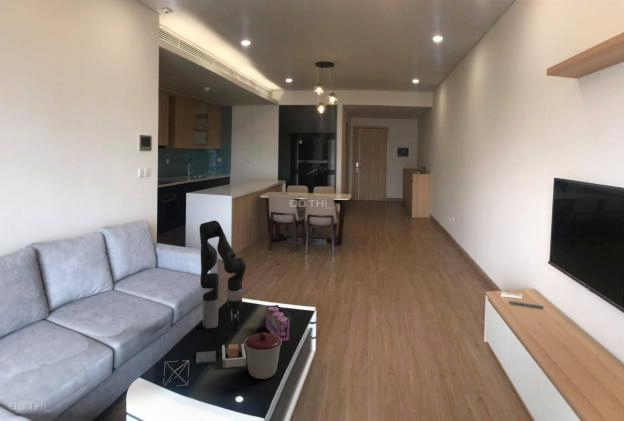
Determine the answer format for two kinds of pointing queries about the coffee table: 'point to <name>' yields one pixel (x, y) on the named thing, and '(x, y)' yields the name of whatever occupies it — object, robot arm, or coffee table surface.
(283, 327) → the gum box
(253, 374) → the canister
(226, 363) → the grey arch handle
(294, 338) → the coffee table surface
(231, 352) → the terracotta block
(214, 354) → the slate coaster
